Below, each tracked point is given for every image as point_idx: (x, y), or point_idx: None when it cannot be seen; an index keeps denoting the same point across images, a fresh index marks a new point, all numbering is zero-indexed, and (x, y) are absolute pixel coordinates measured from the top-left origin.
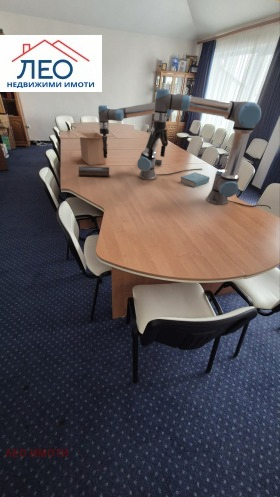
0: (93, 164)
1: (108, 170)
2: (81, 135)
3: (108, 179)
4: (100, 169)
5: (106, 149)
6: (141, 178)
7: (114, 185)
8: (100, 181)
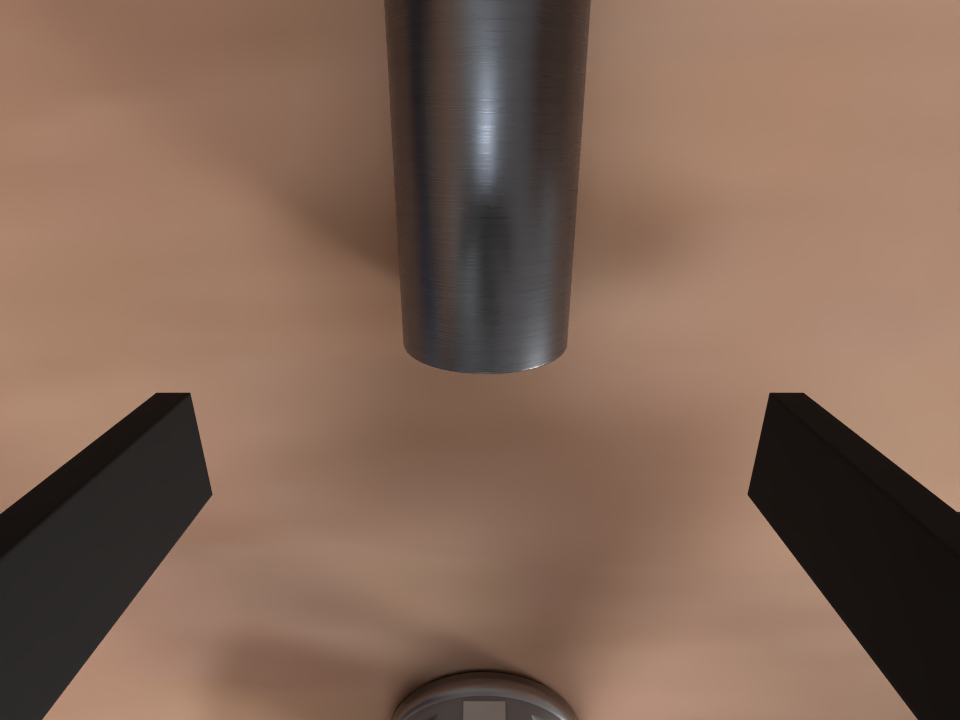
0: None
1: (412, 349)
2: None
3: (333, 304)
4: (415, 184)
5: (850, 598)
6: (425, 685)
7: (103, 389)
8: (210, 174)
